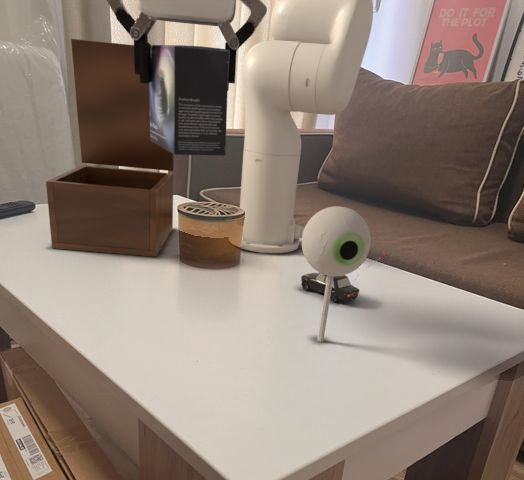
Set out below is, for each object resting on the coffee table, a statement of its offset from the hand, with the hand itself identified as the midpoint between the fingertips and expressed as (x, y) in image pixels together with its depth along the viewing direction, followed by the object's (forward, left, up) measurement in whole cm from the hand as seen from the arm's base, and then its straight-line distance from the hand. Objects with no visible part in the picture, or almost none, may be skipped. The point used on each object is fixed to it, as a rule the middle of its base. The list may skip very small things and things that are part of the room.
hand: (185, 86), depth 58 cm
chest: (+14, -23, -24) cm, 36 cm away
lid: (+14, -31, -5) cm, 34 cm away
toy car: (-21, -2, -25) cm, 33 cm away
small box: (0, 0, -7) cm, 7 cm away
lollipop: (-17, +12, -25) cm, 32 cm away
